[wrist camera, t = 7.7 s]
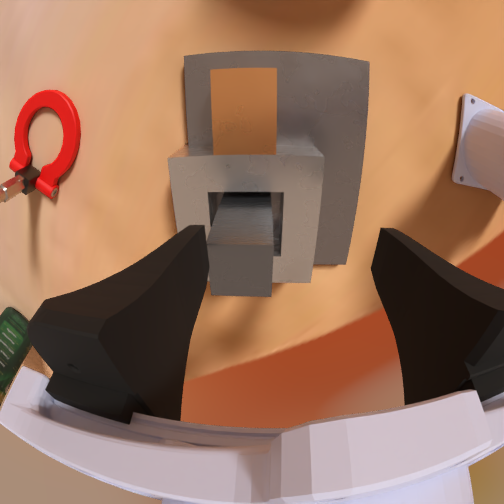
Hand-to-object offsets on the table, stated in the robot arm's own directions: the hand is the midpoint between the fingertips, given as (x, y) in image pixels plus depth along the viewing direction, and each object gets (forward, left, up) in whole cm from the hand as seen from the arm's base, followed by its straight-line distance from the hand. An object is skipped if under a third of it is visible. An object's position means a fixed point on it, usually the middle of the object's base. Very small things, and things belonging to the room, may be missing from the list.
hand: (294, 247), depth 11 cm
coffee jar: (+42, +22, -10) cm, 49 cm away
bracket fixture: (0, -1, -10) cm, 10 cm away
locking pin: (+2, +2, -9) cm, 9 cm away
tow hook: (+20, -5, -10) cm, 23 cm away
